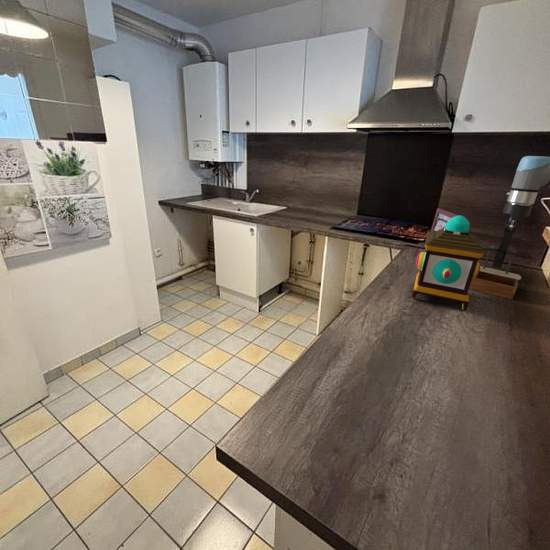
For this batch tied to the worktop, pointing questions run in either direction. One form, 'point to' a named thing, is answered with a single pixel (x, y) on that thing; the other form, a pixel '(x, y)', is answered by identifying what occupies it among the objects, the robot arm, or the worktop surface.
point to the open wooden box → (494, 285)
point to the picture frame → (441, 219)
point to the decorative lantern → (449, 262)
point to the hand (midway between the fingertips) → (496, 266)
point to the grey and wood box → (498, 272)
